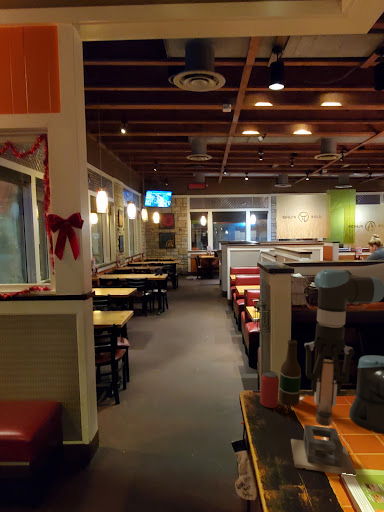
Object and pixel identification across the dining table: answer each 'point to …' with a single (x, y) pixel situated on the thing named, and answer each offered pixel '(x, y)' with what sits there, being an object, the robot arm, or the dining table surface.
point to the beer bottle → (290, 376)
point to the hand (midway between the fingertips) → (324, 403)
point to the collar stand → (321, 451)
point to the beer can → (269, 389)
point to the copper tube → (325, 393)
